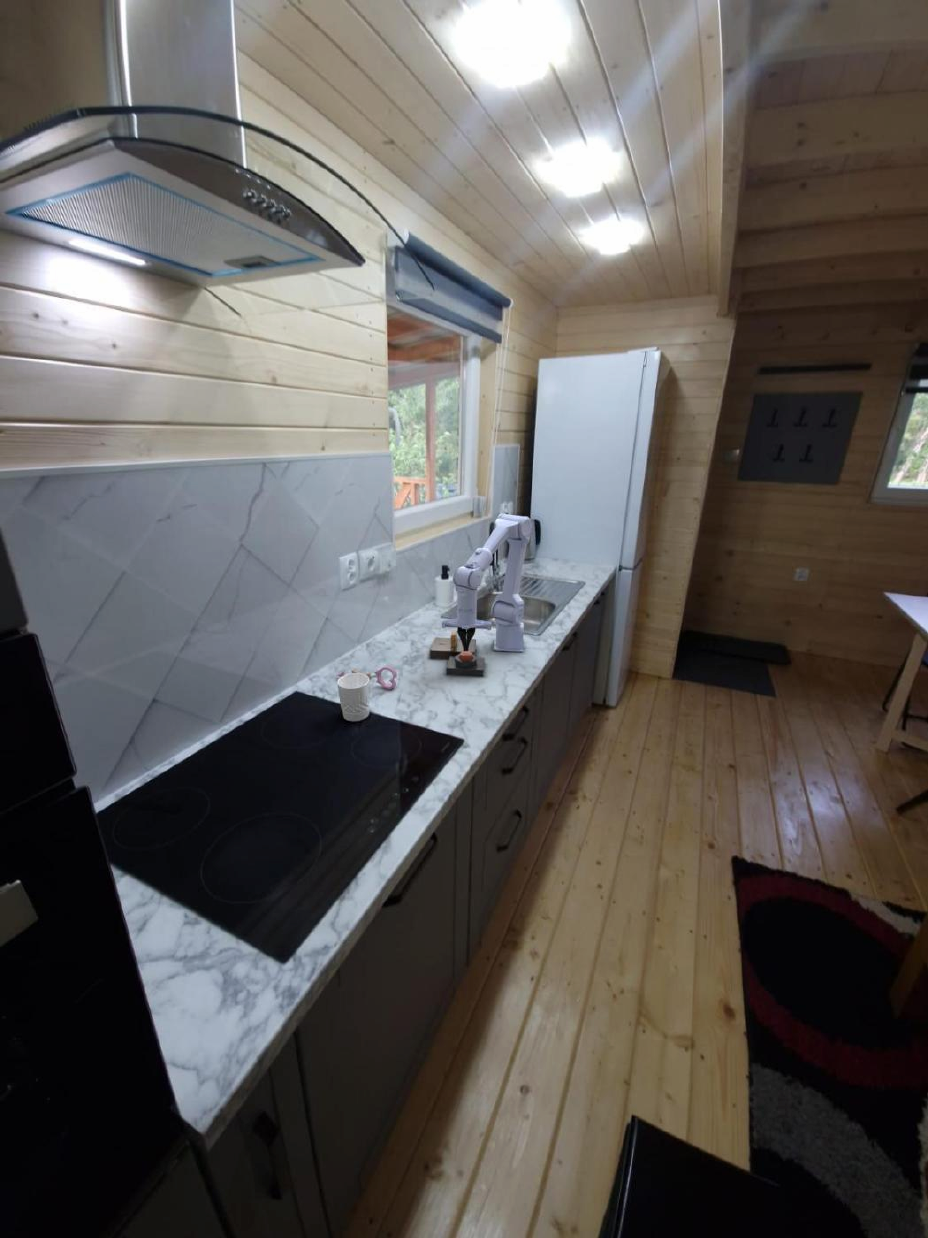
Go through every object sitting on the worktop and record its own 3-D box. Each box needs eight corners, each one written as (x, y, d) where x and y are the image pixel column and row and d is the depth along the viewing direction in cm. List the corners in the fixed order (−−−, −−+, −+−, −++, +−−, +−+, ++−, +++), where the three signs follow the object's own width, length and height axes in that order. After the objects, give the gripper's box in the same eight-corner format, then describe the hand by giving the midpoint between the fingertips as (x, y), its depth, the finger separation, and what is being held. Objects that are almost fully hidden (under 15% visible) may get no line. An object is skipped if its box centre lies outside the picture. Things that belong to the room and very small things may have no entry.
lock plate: (476, 647, 166) (476, 638, 165) (473, 660, 157) (474, 651, 156) (434, 645, 167) (434, 636, 166) (430, 658, 158) (430, 649, 157)
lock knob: (452, 641, 163) (452, 629, 161) (456, 641, 163) (457, 629, 161) (450, 647, 159) (450, 635, 157) (455, 647, 159) (455, 635, 157)
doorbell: (484, 664, 155) (484, 652, 153) (483, 676, 147) (483, 664, 146) (449, 662, 156) (449, 651, 154) (446, 674, 148) (446, 662, 147)
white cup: (377, 714, 128) (375, 680, 124) (352, 727, 123) (349, 691, 119) (359, 702, 133) (357, 669, 129) (334, 714, 127) (331, 680, 124)
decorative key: (339, 685, 147) (399, 687, 140) (337, 687, 146) (397, 689, 139) (334, 664, 145) (394, 665, 138) (332, 666, 144) (392, 667, 137)
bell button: (472, 656, 152) (472, 651, 151) (471, 661, 148) (471, 656, 148) (460, 655, 152) (460, 650, 151) (459, 661, 149) (459, 655, 148)
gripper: (440, 611, 141) (440, 654, 146) (491, 613, 140) (489, 657, 145) (443, 602, 147) (443, 644, 152) (492, 605, 146) (490, 646, 151)
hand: (466, 649), depth 149 cm, fingers closed
